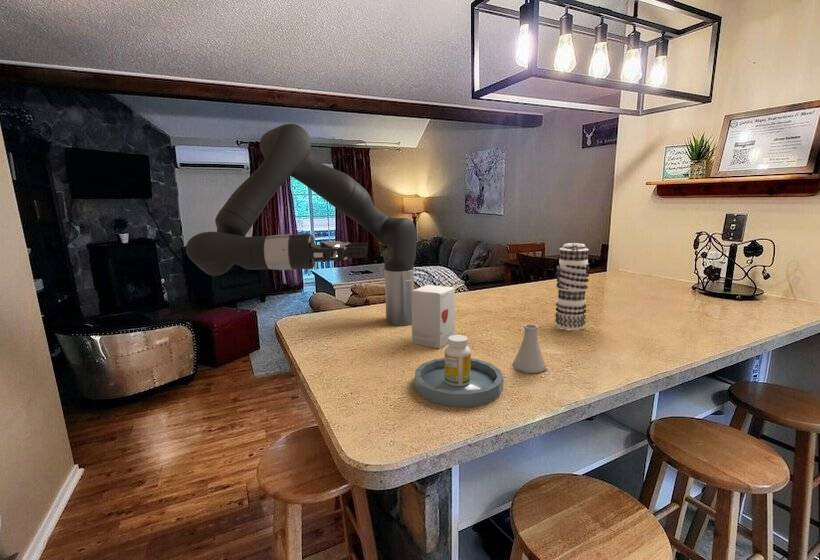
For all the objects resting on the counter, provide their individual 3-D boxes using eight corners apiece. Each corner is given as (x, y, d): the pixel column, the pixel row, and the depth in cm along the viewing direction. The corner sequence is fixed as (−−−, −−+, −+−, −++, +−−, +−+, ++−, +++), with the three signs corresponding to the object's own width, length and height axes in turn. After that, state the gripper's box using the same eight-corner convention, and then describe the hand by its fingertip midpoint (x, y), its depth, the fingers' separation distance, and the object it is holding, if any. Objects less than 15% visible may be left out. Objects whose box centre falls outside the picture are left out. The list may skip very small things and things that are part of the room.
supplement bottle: (447, 388, 80) (447, 343, 79) (442, 376, 86) (442, 334, 84) (473, 386, 81) (473, 341, 79) (467, 375, 86) (467, 333, 84)
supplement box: (440, 349, 104) (439, 293, 101) (411, 343, 109) (410, 290, 106) (455, 339, 112) (455, 286, 109) (428, 334, 116) (427, 284, 113)
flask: (552, 372, 89) (554, 329, 87) (523, 376, 87) (525, 332, 85) (534, 359, 96) (536, 320, 94) (507, 363, 94) (508, 322, 92)
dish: (434, 363, 95) (434, 352, 95) (510, 375, 87) (510, 364, 87) (400, 395, 79) (400, 383, 79) (489, 414, 72) (489, 401, 71)
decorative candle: (593, 327, 119) (598, 243, 115) (573, 333, 114) (578, 246, 110) (566, 320, 127) (571, 241, 122) (547, 325, 122) (551, 243, 117)
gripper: (280, 237, 77) (365, 234, 78) (296, 232, 91) (367, 230, 92) (284, 275, 79) (366, 272, 80) (298, 264, 93) (368, 262, 94)
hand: (366, 249), depth 86 cm, fingers open, 8 cm apart
